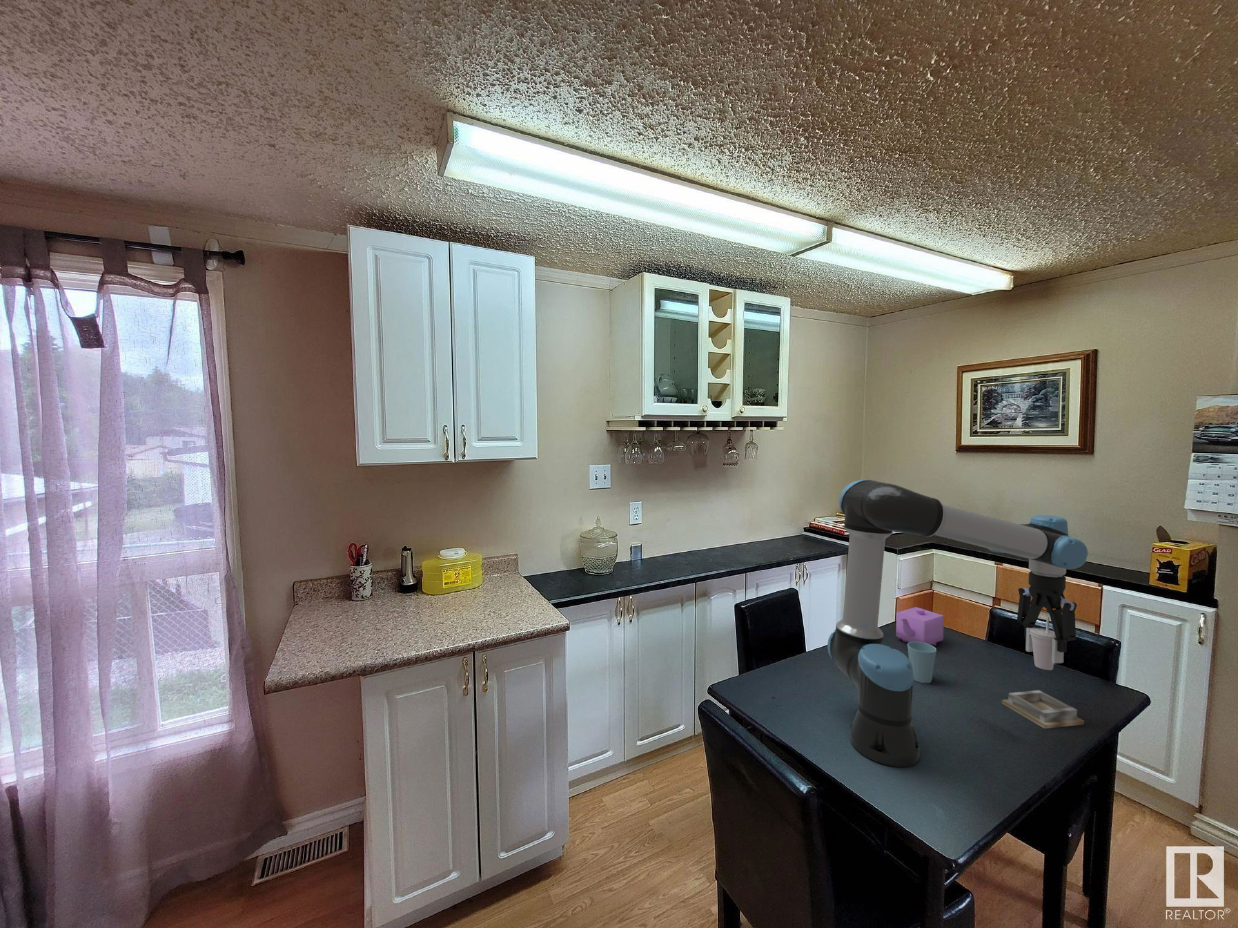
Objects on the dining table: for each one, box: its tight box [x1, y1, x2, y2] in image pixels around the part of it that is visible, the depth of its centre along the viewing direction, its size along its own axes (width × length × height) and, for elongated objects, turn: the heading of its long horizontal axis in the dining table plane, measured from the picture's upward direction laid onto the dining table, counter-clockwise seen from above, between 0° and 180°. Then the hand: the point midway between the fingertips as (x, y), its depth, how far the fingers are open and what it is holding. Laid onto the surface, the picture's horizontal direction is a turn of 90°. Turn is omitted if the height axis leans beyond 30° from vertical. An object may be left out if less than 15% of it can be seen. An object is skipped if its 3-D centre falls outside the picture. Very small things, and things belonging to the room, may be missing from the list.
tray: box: [1001, 689, 1085, 729], centre depth 132 cm, size 12×12×4 cm
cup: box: [907, 642, 937, 684], centre depth 151 cm, size 8×8×10 cm
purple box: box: [895, 606, 945, 646], centre depth 176 cm, size 20×10×12 cm, turn 117°
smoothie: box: [1029, 616, 1056, 671], centre depth 131 cm, size 6×6×14 cm
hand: (1043, 656), depth 131 cm, fingers closed on smoothie, 6 cm apart
